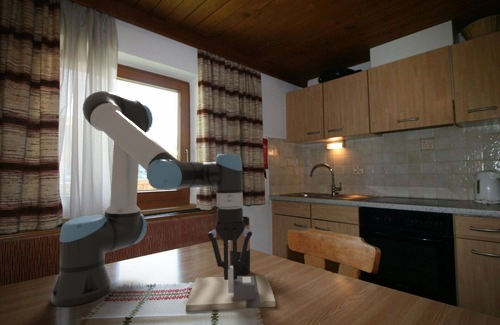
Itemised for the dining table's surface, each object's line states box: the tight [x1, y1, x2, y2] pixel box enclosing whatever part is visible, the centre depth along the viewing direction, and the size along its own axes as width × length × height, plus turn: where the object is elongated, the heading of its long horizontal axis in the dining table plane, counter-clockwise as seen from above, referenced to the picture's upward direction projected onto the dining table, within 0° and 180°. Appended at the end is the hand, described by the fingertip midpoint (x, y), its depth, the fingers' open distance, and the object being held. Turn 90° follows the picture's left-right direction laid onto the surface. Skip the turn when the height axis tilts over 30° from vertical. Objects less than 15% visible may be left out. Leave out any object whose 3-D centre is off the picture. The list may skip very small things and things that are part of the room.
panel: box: [185, 274, 276, 312], centre depth 76 cm, size 24×18×2 cm
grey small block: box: [233, 275, 256, 301], centre depth 71 cm, size 6×6×4 cm
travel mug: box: [229, 215, 251, 276], centre depth 93 cm, size 8×8×20 cm
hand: (231, 290), depth 71 cm, fingers closed
